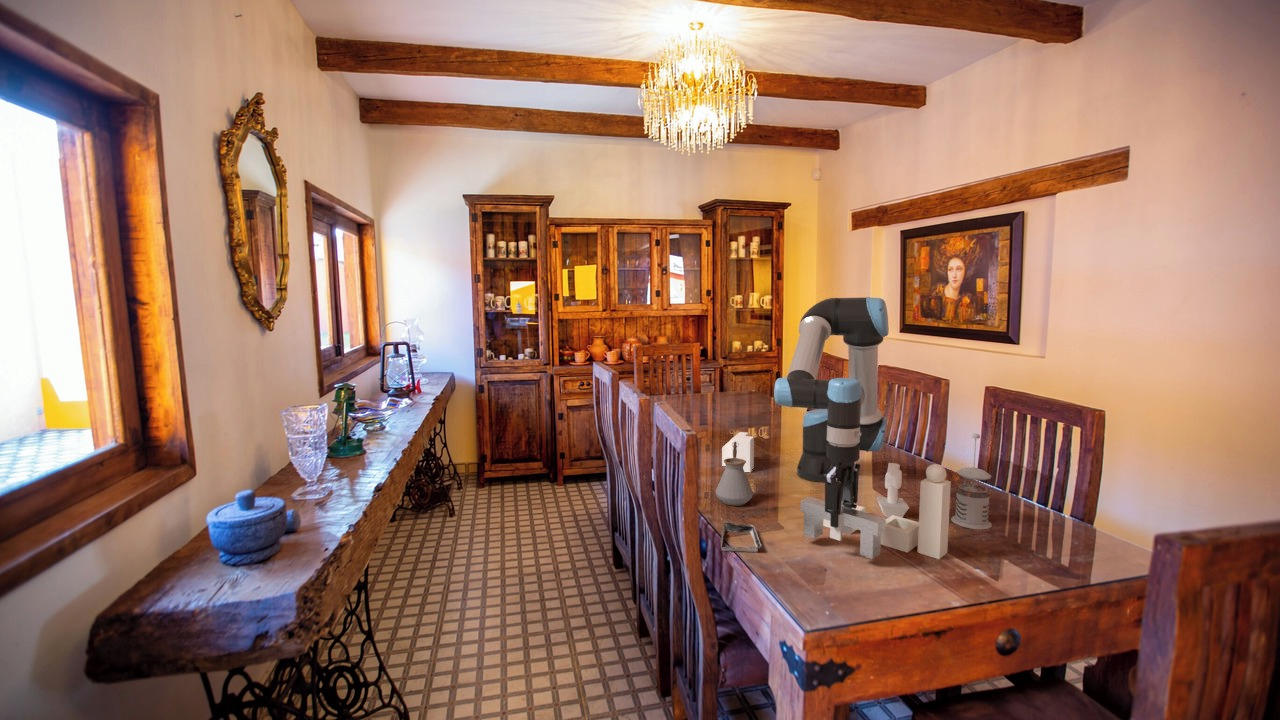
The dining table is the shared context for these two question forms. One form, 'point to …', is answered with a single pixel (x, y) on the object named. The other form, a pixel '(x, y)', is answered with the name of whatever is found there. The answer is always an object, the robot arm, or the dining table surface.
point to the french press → (972, 498)
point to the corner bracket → (740, 450)
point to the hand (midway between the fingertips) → (840, 535)
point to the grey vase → (734, 482)
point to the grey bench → (851, 518)
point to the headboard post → (921, 519)
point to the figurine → (893, 493)
